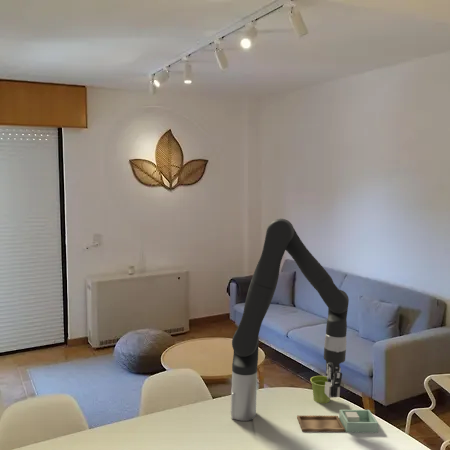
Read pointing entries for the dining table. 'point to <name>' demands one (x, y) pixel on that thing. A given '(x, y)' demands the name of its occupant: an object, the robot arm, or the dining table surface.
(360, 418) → the bin
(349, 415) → the stone
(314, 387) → the plant pot
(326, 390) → the stone
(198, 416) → the dining table surface
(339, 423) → the tray
